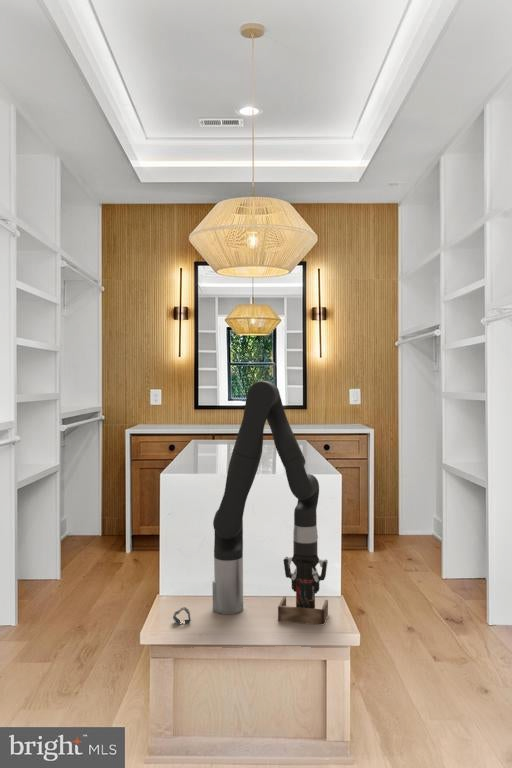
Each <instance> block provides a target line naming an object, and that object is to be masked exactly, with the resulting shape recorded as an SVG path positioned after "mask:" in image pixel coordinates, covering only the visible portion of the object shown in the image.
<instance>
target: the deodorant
mask: <svg viewBox="0 0 512 768" xmlns="http://www.w3.org/2000/svg"><path fill="white" fill-rule="evenodd" d="M296 567H297V574H296V592H295V607H301V608H313V609H316V593H314V581H315V580H314V578H313V575H312V572H313V571H312V567H313V569H314V571H315V568H314V563H313V562H310V563H307V562H305V561H302V562H299V561H296V566H295V568H296Z"/></svg>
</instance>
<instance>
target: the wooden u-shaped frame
mask: <svg viewBox="0 0 512 768" xmlns="http://www.w3.org/2000/svg"><path fill="white" fill-rule="evenodd" d="M328 614H329V599H325V600H324V603H323V605H322V608H315V609H313V608H301V607H296V606H288V605H287V596H284V595H283V597H282V598H281V600H280V602H279V604H278V606H277V621H278V622H283V623H284V622H285V623H286V622H287V623H297V624H298V623H299V624H306V623H308V624H309V625H317V624H324V623H326V621H327V618H326V617H328ZM325 620H326V621H325ZM308 624H307V625H308ZM324 625H325V624H324Z"/></svg>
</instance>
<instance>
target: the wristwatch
mask: <svg viewBox="0 0 512 768" xmlns="http://www.w3.org/2000/svg"><path fill="white" fill-rule="evenodd" d="M182 611H184V612H186V614H187V617H188V619H183V621H185V624H187V623H188V624H189V623H190V622H191V621H192V619H191V614H190V613H191V612H190V610H189V608H187V607H185V606H183V607H181V608H180V609H179V610H176V611H175V612H174V614H173V615H172V620H173V621H174V622H175V623H176V624H177V625H178V624H180V623H181V622H180V619H179V618H178V617H177V615H179V614H180V613H181V612H182ZM180 625H181V624H180Z"/></svg>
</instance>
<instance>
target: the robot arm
mask: <svg viewBox="0 0 512 768" xmlns="http://www.w3.org/2000/svg"><path fill="white" fill-rule="evenodd" d="M246 392H247V393H246V398H245V404H244V411H243V416H242V421H241V424H240V427H239V429H238V432H237V435H236V439H235V441H234V442H235V443H234V445H233V449H232V452H231V456H230V459H229V463H228V468H227V473H226V474H227V475H226V480H225V487H224V492H223V496H222V499H221V502H220V505H219V506H218V509H217V510H216V512H215V514H214V517H213V522H212V524H213V525H212V526H213V530H214V543H213V544H214V545H213V546H214V547H213V558H214V559H213V561H214V563H213V565H214V569H213V571H214V572H213V573H214V577H213V578H214V580H212V612H217V613H218V614H223V615H236V614H239V613H241V612H242V611H243V610H244V562H243V561H244V559H243V558H244V554H243V553H244V552H243V551H244V537H243V536H244V527H243V526H244V525H243V523H244V521H243V517H244V512H245V507H246V502H247V499H248V496H249V493H250V491H251V488H252V486H253V484H254V480H255V477H256V475H257V472H258V470H259V467H260V466H259V465H260V462H261V458H262V455H263V447H264V432H265V431H264V430H265V425H266V421H267V424H268V426H269V427H270V430H271V434H272V439H273V442H274V447H275V450H276V451H277V455H278V456H279V458H280V462H281V463H282V465H283V467H284V470H285V475H286V476H285V477H286V479H287V483H288V487H289V490H290V492H291V493H292V495H293V496H294V497H295V498H296V499H297V504H296V506H295V508H294V513H293V517H294V518H293V522H294V523H293V534H292V535H293V537H292V539H293V552H292V553H293V555H292V556H291V557H288V556H285V557H284V559H283V566H284V567H283V569H284V572H285V573H284V574H285V577H286V578H288V579H291V589H292V590H293V592H295V593H296V574H297V567H296V561H299V562H302V561H305V562H307V563H310V562H313V563H314V568H315V571H314V569H313V567H312V571H313V572H312V575H313V578H314V580H315V581H314V593H315V595H317V593H318V592H319V591H320V581H324V580H325V579H326V576H327V569H328V567H327V566H328V564H329V563H328V559H320V558H319V555H318V539H319V537H318V528H317V527H318V526H317V524H318V523H317V521H318V518H317V507H318V502H319V497H320V496H319V495H320V484H319V481H318V479H317V477H316V476H315V475H313V474H311V473H307V471H306V468H305V465H306V459H305V455H304V454H303V451H302V449H301V447H300V445H299V443H298V441H297V439H296V436H295V435H294V432H293V429H292V427H291V425H290V423H289V421H288V418H287V415H286V412H285V409H284V405H283V400H282V397H281V394H280V391H279V388H278V386H277V385H276V384H275V383H273V382H271V381H268V380H257V381H255V382H253V383H252V384H251V385H250V386H249V388H248V390H247V391H246ZM292 563H293V564H294V566H295V569H294V571H293V573H292V571H291V564H292ZM318 564H319V566H320V568H321V571H320V572H321V573H320V574H319V573H318V569H317V565H318Z"/></svg>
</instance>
